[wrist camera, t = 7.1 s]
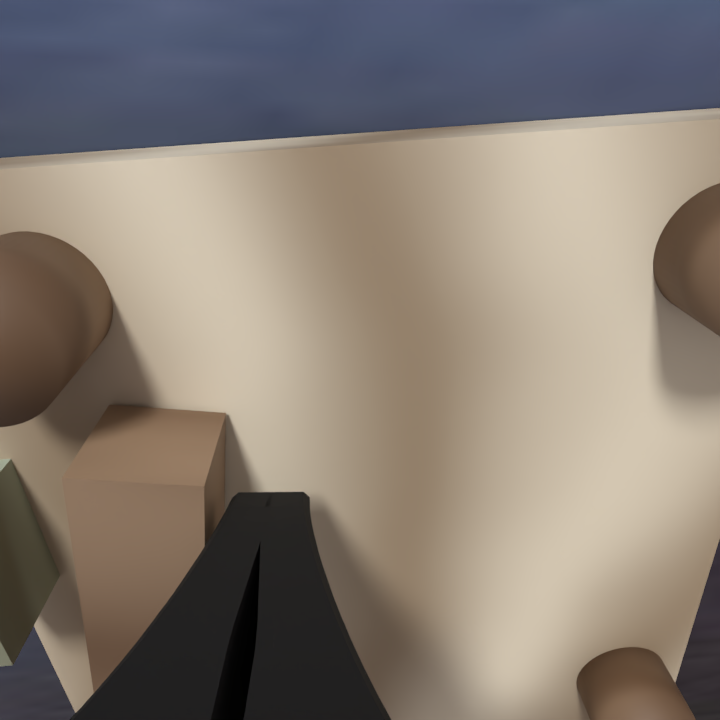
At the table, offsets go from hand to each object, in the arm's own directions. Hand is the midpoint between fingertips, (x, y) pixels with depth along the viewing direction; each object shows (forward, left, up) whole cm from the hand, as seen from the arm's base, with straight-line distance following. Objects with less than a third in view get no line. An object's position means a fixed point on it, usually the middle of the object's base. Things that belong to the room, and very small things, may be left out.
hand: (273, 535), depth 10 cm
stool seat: (+2, -2, -3) cm, 4 cm away
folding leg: (-3, -3, -1) cm, 4 cm away
